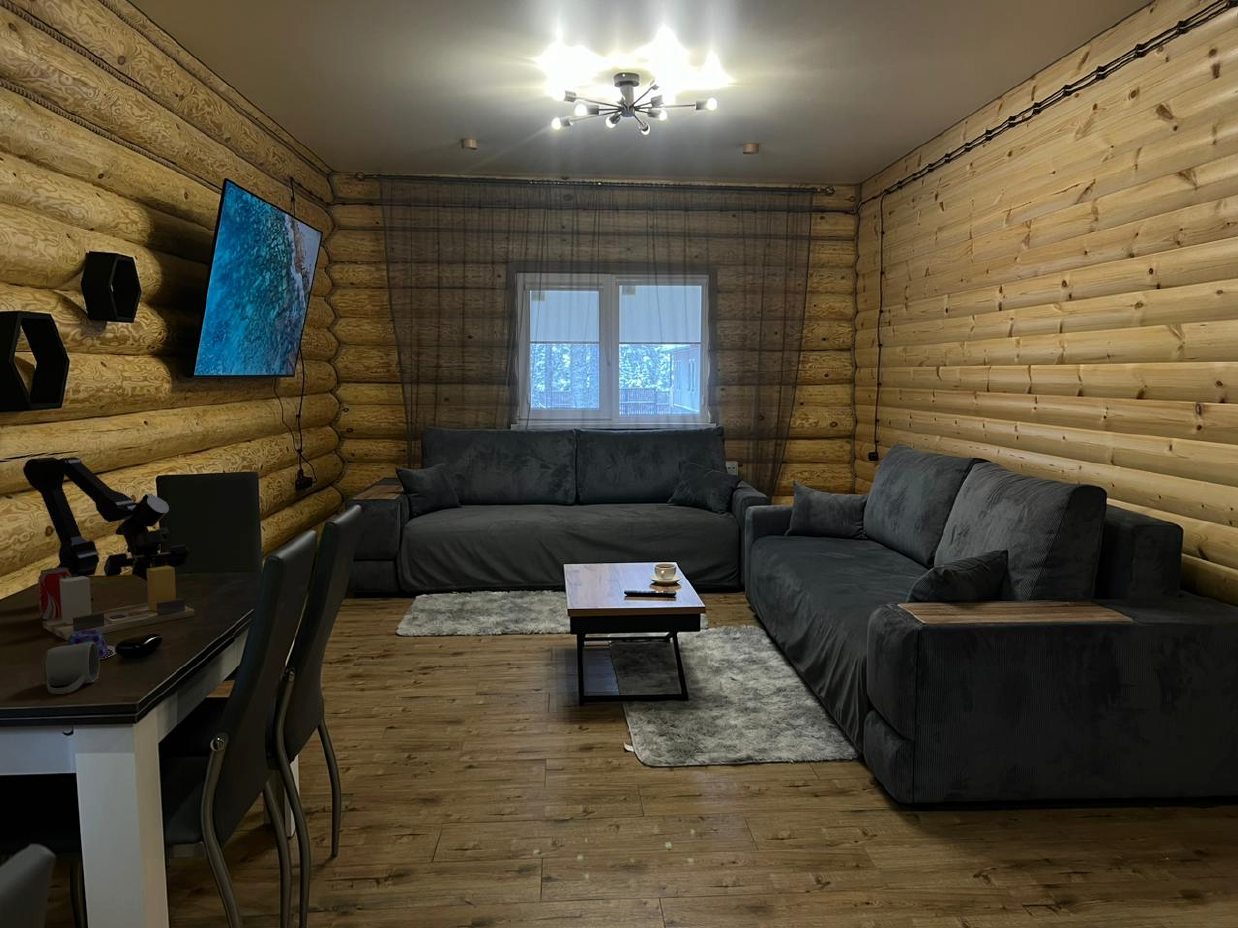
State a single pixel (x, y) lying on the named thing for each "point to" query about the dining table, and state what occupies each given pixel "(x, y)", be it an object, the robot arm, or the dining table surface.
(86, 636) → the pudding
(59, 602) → the soda can
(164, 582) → the large amber box
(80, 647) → the ceramic mug
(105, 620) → the key board
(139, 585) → the dining table surface
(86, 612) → the white tall rectangular block
